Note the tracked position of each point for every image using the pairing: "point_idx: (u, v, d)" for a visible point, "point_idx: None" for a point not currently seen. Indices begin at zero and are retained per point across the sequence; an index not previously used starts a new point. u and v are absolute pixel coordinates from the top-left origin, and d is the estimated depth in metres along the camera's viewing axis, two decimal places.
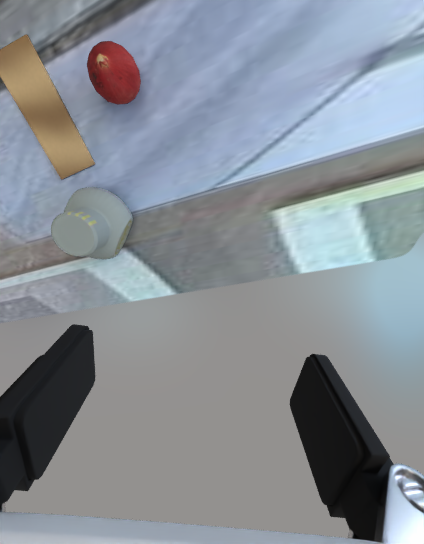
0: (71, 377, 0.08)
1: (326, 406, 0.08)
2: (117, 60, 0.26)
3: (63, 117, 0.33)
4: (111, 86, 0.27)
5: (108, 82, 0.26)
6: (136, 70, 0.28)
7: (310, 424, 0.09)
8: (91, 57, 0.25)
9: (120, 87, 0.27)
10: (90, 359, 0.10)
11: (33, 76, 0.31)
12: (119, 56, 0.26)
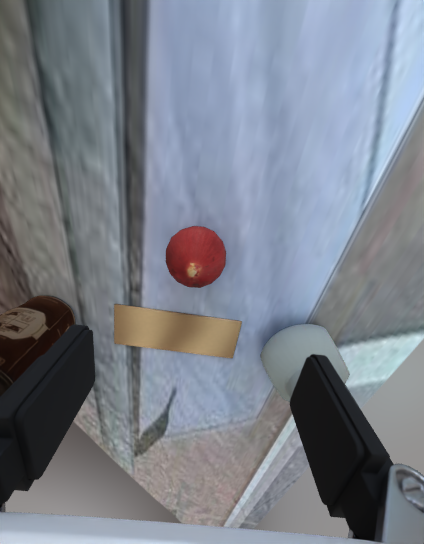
0: (71, 377, 0.08)
1: (326, 406, 0.08)
2: (198, 251, 0.19)
3: (188, 321, 0.30)
4: (214, 273, 0.21)
5: (210, 275, 0.20)
6: (208, 232, 0.21)
7: (310, 424, 0.09)
8: (180, 276, 0.20)
9: (219, 264, 0.21)
10: (90, 359, 0.10)
11: (145, 321, 0.30)
12: (194, 246, 0.20)
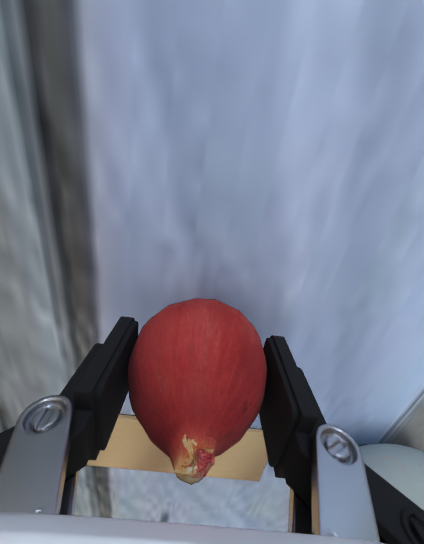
0: (125, 363, 0.09)
1: (275, 379, 0.09)
2: (204, 398, 0.07)
3: None
4: (244, 433, 0.08)
5: (235, 442, 0.08)
6: (227, 323, 0.09)
7: (265, 398, 0.10)
8: None
9: (256, 408, 0.08)
10: None
11: None
12: (195, 381, 0.07)
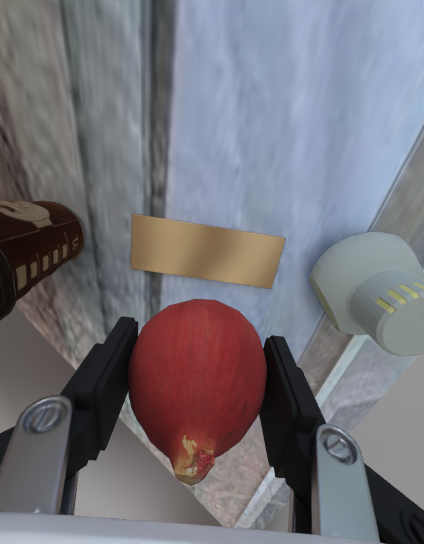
0: (125, 363, 0.09)
1: (275, 379, 0.09)
2: (204, 399, 0.07)
3: (220, 236, 0.24)
4: (244, 434, 0.08)
5: (235, 443, 0.08)
6: (227, 324, 0.09)
7: (265, 398, 0.10)
8: None
9: (256, 409, 0.08)
10: None
11: (168, 237, 0.24)
12: (195, 382, 0.07)
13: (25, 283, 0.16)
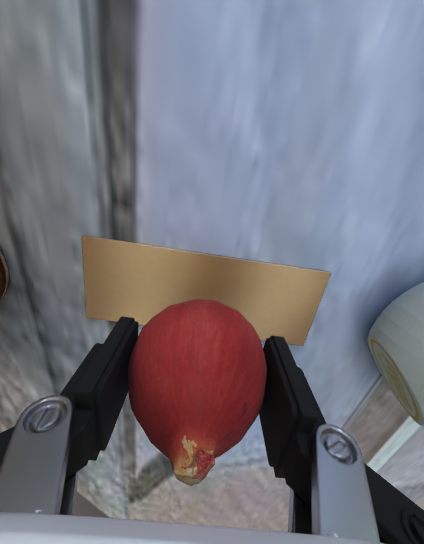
0: (125, 362, 0.09)
1: (275, 379, 0.09)
2: (204, 399, 0.07)
3: (226, 271, 0.15)
4: (244, 434, 0.08)
5: (235, 443, 0.08)
6: (227, 324, 0.09)
7: (265, 398, 0.10)
8: (158, 448, 0.08)
9: (256, 409, 0.08)
10: None
11: (143, 271, 0.15)
12: (195, 382, 0.07)
13: None
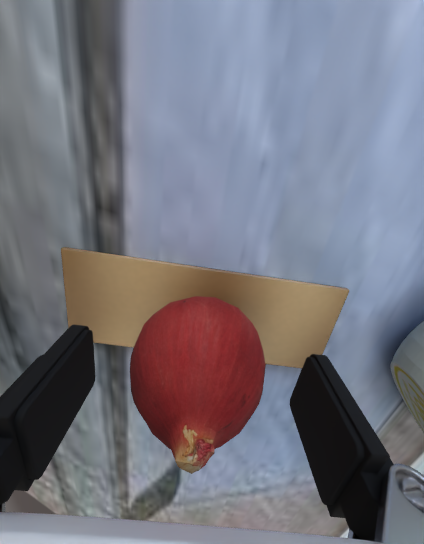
0: (71, 377, 0.08)
1: (326, 406, 0.08)
2: (204, 391, 0.07)
3: (229, 287, 0.13)
4: (243, 426, 0.08)
5: (234, 434, 0.08)
6: (227, 319, 0.09)
7: (310, 424, 0.09)
8: None
9: (254, 402, 0.08)
10: (90, 359, 0.10)
11: (133, 288, 0.13)
12: (195, 375, 0.07)
13: None
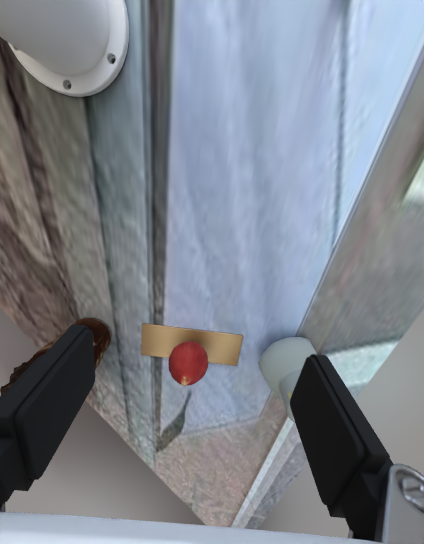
0: (71, 377, 0.08)
1: (326, 406, 0.08)
2: (188, 368, 0.31)
3: (200, 335, 0.37)
4: (199, 378, 0.32)
5: (196, 380, 0.32)
6: (195, 350, 0.33)
7: (310, 424, 0.09)
8: (177, 381, 0.32)
9: (202, 372, 0.32)
10: (90, 359, 0.10)
11: (166, 336, 0.37)
12: (186, 364, 0.31)
13: None
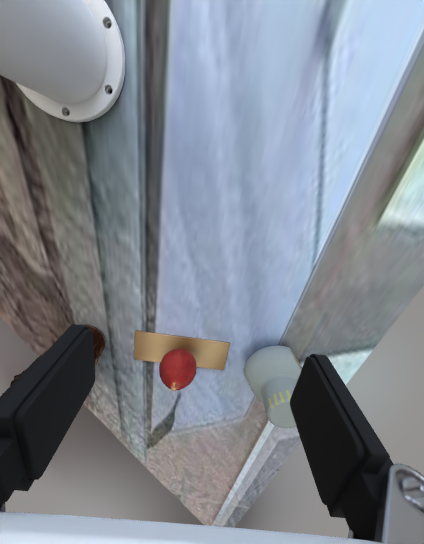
0: (71, 377, 0.08)
1: (326, 406, 0.08)
2: (177, 374, 0.34)
3: (189, 342, 0.40)
4: (187, 384, 0.35)
5: (185, 385, 0.35)
6: (184, 357, 0.35)
7: (310, 424, 0.09)
8: (167, 386, 0.34)
9: (190, 378, 0.35)
10: (90, 359, 0.10)
11: (157, 343, 0.40)
12: (175, 371, 0.34)
13: None
